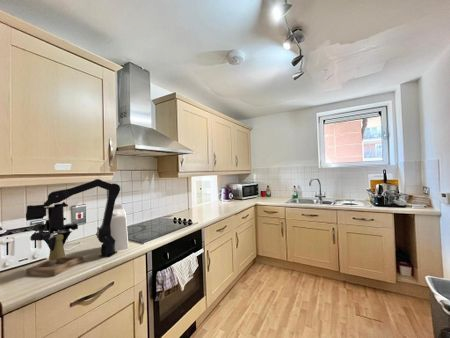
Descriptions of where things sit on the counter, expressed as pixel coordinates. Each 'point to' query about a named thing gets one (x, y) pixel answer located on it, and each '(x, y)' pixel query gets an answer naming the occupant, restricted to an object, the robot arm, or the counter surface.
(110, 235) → the robot arm
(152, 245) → the counter surface
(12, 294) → the counter surface
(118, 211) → the milk
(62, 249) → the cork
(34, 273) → the socket block
